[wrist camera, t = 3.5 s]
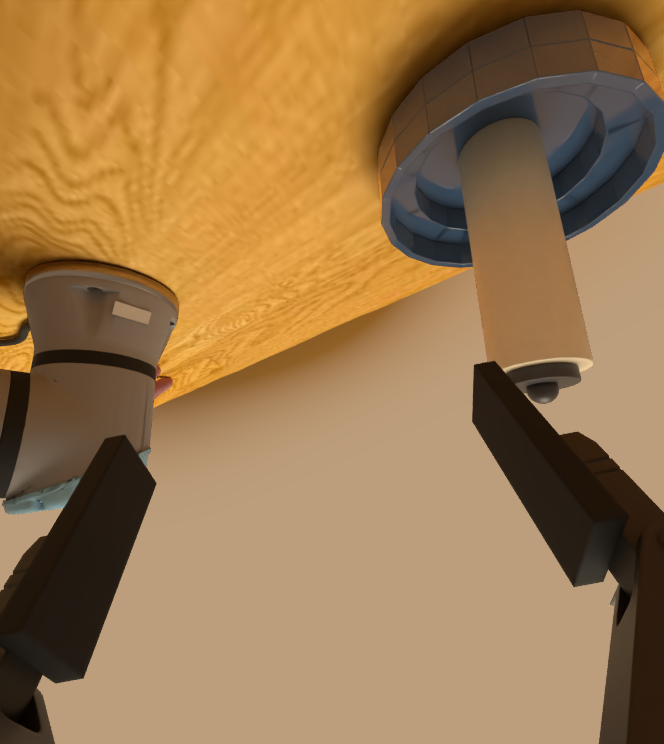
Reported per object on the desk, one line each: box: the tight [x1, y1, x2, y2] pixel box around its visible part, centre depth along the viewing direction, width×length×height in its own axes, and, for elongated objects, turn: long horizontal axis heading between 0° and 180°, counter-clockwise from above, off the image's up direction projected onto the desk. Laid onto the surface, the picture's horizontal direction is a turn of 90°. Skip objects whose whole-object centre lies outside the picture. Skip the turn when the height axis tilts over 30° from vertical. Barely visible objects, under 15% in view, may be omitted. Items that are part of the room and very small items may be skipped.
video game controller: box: [154, 366, 173, 399], centre depth 74 cm, size 10×5×7 cm, turn 173°
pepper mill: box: [458, 118, 593, 404], centre depth 24 cm, size 5×5×17 cm
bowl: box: [378, 10, 664, 268], centre depth 26 cm, size 16×16×4 cm
